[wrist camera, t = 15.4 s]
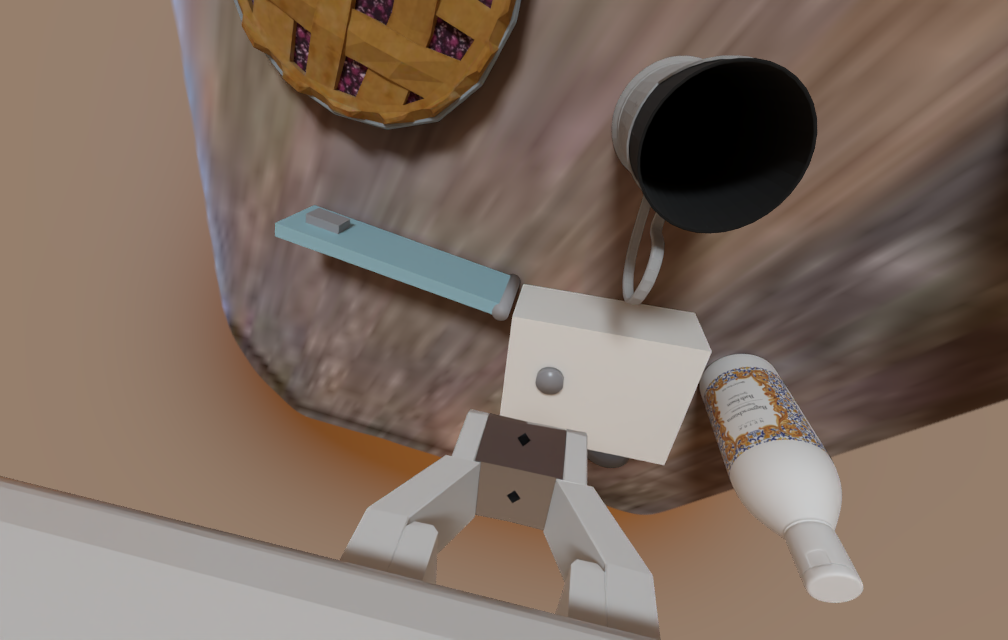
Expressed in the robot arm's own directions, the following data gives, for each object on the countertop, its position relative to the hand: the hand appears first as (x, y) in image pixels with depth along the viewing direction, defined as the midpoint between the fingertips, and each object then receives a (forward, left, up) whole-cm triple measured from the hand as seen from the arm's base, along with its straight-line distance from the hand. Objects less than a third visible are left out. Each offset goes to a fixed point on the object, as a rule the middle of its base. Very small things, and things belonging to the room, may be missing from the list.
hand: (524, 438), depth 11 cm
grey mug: (-6, -3, -29) cm, 30 cm away
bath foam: (-19, +16, -29) cm, 38 cm away
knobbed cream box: (-5, +17, -29) cm, 34 cm away
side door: (+13, +7, -29) cm, 33 cm away
